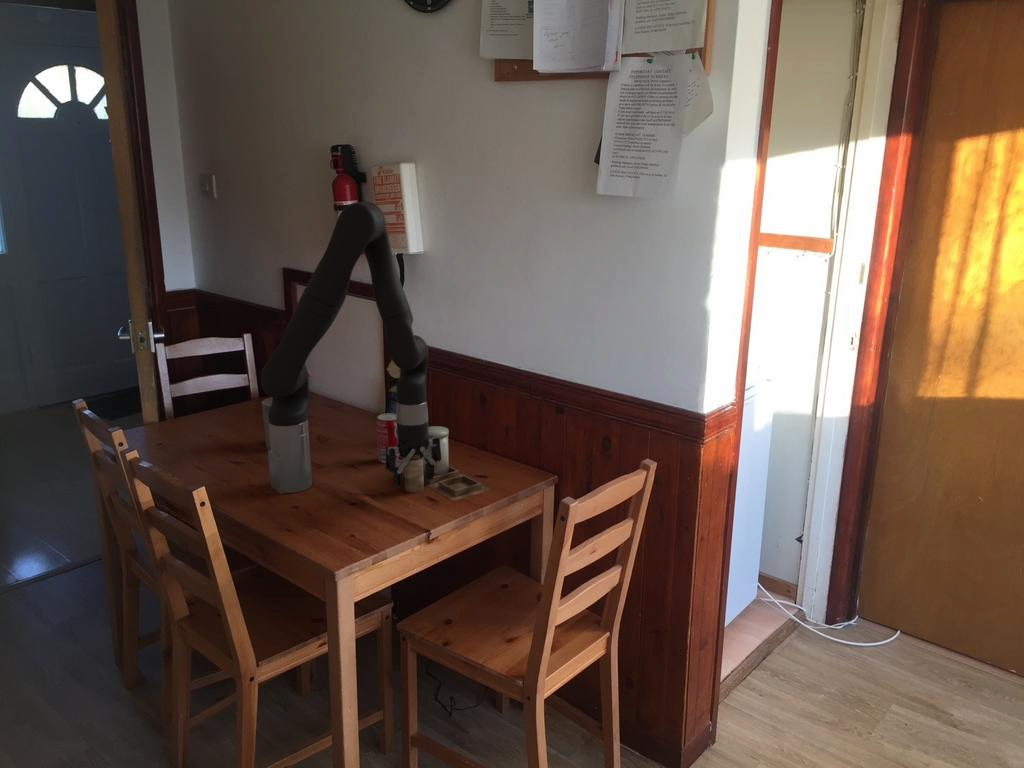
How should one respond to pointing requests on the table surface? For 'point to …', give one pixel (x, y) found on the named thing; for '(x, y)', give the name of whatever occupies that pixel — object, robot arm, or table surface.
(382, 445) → the soda can
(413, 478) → the oak mill
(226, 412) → the table surface
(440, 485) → the walnut holder
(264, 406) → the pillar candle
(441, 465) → the sage jar
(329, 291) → the robot arm
